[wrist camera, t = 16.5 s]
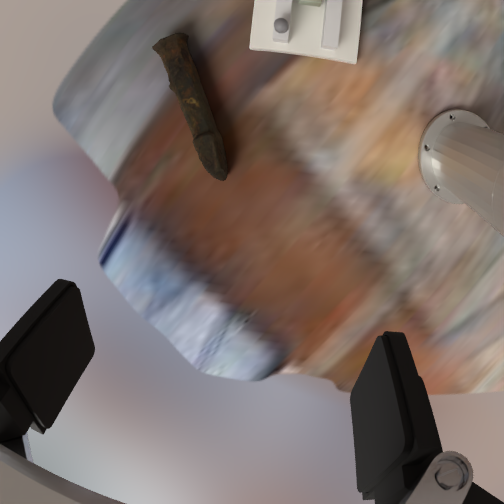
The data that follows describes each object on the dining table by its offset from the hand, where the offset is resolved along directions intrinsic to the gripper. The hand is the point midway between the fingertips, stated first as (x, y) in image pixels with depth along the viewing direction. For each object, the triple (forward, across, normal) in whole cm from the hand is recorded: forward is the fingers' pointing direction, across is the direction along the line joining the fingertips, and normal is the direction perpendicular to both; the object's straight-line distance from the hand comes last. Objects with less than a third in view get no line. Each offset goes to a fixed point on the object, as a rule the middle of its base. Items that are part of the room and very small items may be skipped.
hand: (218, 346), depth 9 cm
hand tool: (+33, +9, -5) cm, 34 cm away
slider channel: (+32, -2, -21) cm, 39 cm away
